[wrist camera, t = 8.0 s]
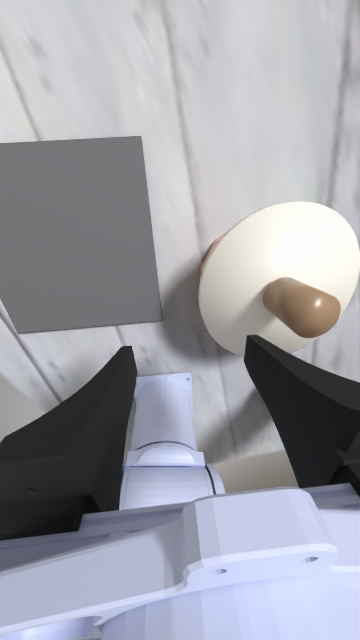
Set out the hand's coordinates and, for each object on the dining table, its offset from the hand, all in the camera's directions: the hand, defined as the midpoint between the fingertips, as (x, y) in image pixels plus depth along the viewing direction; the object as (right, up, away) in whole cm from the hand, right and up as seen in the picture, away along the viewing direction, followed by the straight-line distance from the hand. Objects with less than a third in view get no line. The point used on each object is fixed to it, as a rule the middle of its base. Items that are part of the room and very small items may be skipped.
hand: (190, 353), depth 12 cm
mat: (-11, +9, +6) cm, 16 cm away
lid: (+7, +5, +4) cm, 10 cm away
